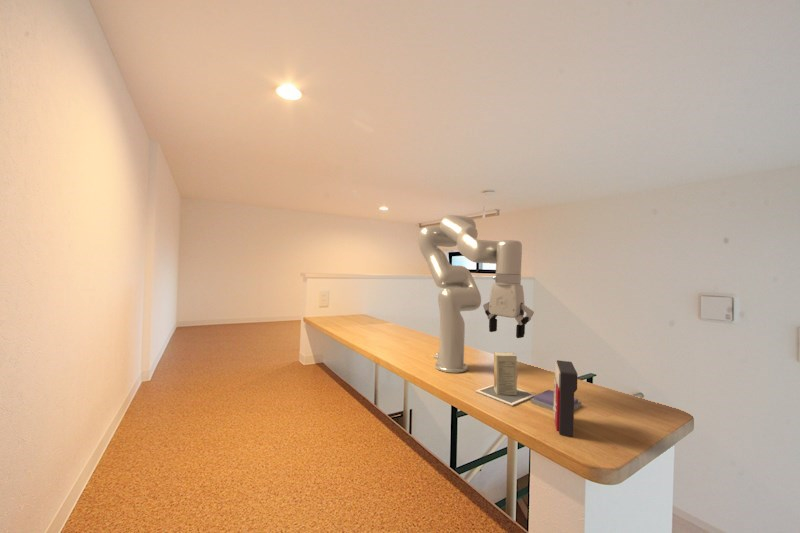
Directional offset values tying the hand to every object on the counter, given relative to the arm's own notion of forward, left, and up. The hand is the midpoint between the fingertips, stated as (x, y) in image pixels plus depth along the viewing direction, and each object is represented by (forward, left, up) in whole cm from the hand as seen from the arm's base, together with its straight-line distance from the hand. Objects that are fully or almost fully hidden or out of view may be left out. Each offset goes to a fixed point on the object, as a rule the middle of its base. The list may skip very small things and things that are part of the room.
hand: (505, 334), depth 102 cm
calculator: (+21, -6, -19) cm, 29 cm away
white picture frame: (0, 0, -19) cm, 19 cm away
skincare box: (0, 0, -19) cm, 19 cm away
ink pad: (+13, +5, -19) cm, 24 cm away
